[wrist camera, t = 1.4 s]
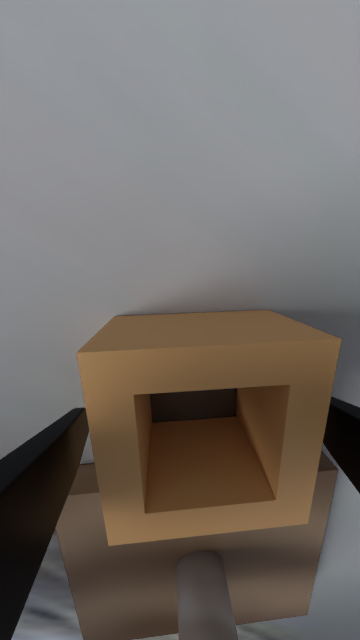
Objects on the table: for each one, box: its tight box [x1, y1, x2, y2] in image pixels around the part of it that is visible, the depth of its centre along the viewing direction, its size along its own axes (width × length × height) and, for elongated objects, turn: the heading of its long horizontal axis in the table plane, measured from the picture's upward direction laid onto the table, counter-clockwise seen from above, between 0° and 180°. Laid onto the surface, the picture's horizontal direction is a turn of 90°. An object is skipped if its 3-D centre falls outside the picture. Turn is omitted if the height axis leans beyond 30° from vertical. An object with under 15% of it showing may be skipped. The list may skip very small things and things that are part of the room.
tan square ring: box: [77, 310, 342, 546], centre depth 8 cm, size 7×7×4 cm
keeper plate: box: [55, 450, 338, 640], centre depth 10 cm, size 12×14×6 cm
